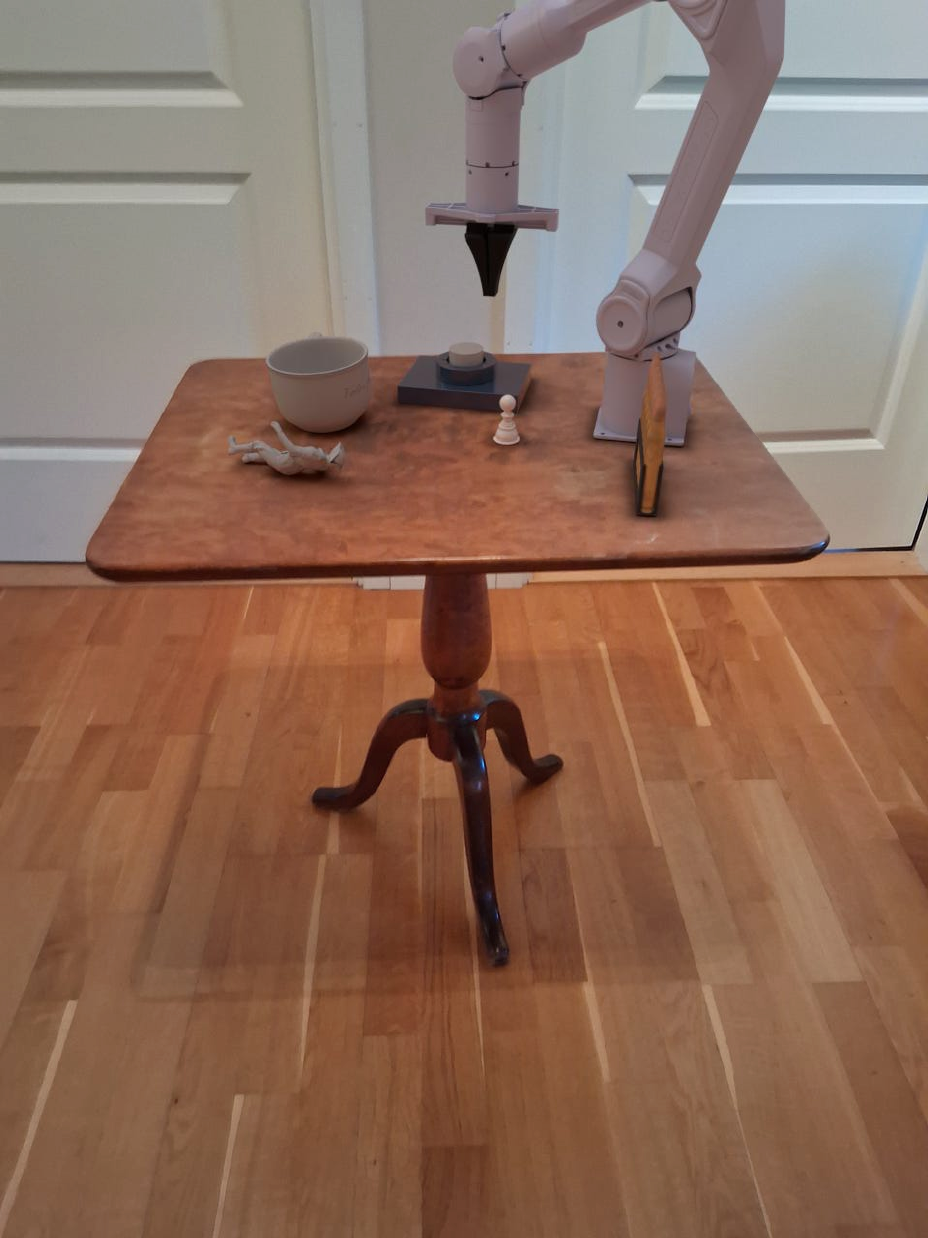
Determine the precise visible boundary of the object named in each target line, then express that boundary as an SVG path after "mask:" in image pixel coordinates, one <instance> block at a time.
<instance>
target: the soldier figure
mask: <svg viewBox="0 0 928 1238" xmlns="http://www.w3.org/2000/svg"><path fill="white" fill-rule="evenodd" d="M269 425H270V426H271V427H272V428H273V429H274V431H275V432H276V433H277V438H278V440H279V442H281V444H282V446H283V447H284V449H285V450H282V451H280V450H278V449H277V448H274V447H272V446H270V445H268V444H267V443H266V442H264V441H262V440H260V439H259V440H258V439H255V440H254V441H252V442H249V443H248V442H247V443H244V444H237V443H236V442H237V441H236V437H235V435H232V434H231V435H229V437H228V440H227V443H228V445H229V448H228V450H227V454H228V456H234V455H236V454H243V456H242V458H241V462H242V463H243V464H248V463H249V462H264V461H265V462H266V463H267V465H269V466H270V467H271V468H274V469H275V470H276V471H277V472H279V473H281V474H283V475H286V476H291V475H296V474H298V473H299V472H302V471H303V470H305V469H306V470H308V471H310V470H316V471H319V472H324V471H326V470H327V469H329V468H331V469H335V468H336V469H337V470H338V471H339V473H342V471H343V469H344V467H345V466H346V453H345V449H344V446H343V443H342V441H339V442H338V444H337V445H336V446H335V447H333V448H332V447H331V448H329V450H331V451H329V450H327V451H325V450H323V448H320V447H318V448H316V447H314V446H312V445H307V446H300V445H294V443H293V442H292V441H291V440H290V439H289V437H287V435H286V434H285V433H284V431H283V429H282V426H281V425H280V424H279V422H278V421H274V420H272V421H271V422H270V424H269ZM328 452H329V453H328Z"/></svg>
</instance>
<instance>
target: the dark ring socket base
mask: <svg viewBox="0 0 928 1238" xmlns="http://www.w3.org/2000/svg"><path fill="white" fill-rule="evenodd" d="M532 368H533V364H532V363H523V362H511V361H509V362H508V361H499V360H498V359H497V358H496V356H494V355H493V354H492V353H491V352H487V351H484V352H483V364H481V365H478V366H472V367H462V366H454V365H451V364H449V350H448V351H445V352H443V353H440V354H439V355H438V356H432V355H419V356H418V357H416V360H415V361H414V362H413V363H412V365H411V366H410V368H409V369H408V371H407V372H406V373H405V375H404V376H403V377H402V379H401V380H400V381H399V383H398V384H397V387H396V389H397V403H398V404H400V405H411V406H422V407H423V406H425V407H436V408H444V409H445V408H446V409H455V410H456V409H457V410H467V411H468V410H470V411H481V412H493V413H502V412H504V410H502V409H501V407H500V404H499V402H500V399H501V398H502V397H503V396H504V395H511V396H513V397H514V398H515V401H516V405H515V408H514V409H513V410H512V411H511V412H512V413H514V415H517V414H518V413H519V411H520V408H521V407H522V404H523V401H524V398H525V397H526V394H527V392H528V389H529V388H530V384H531V382H532V370H533V369H532Z"/></svg>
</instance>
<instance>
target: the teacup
mask: <svg viewBox="0 0 928 1238" xmlns="http://www.w3.org/2000/svg"><path fill="white" fill-rule="evenodd" d="M368 356H369V348H368V346H367V345H366V344H365V343H364V342H362V341H361V340H359V339H356V338H352V337H347V336H340V335H338V336H336V335H326V336H325V335H323V334H322V333H321V332H318V331H316V332H310V333H309V334H308V337H306V338H301V339H296V340H292V341H290V342H289V341H288V342H286V343H284V344H282V345H280V346H278V347H276V348H274V349H273V350H272V351H270V352H269V354H267V356H266V358H265V365H266V367H267V369H268V370H267V371H268V374H269V380H270V384H271V388H272V389H271V390H272V394H273V396H274V401H275V404H276V407H277V409H278V411H279V413H280V414H281V416H282V417H283V418H284V419H285V420H286V421H287V422H289V423H290V424H292V425H294V426H295V427H297V428H299V429H300V430H303V431H305V432H309V433H317V434H321V433H323V434H326V433H333V432H338V431H342V430H344V429H346V428H349V427H350V426H352V425H353V424H354V423H356V421H357V420H358V419H359V418H360V417H361V416H362V415H363V414H364V413H365V412H366V410H367V409H368V407H369V405H370V402H371V394H372V391H371V390H372V388H371V376H370V374H371V373H370V365H369V357H368Z"/></svg>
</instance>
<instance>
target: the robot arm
mask: <svg viewBox="0 0 928 1238" xmlns="http://www.w3.org/2000/svg"><path fill="white" fill-rule="evenodd" d="M652 2H655V3H664V2H667V3H668V5H669V6H670V8H671V9H672V11H673V12H674V13H675V15H676V16H677V17H678V18H679V19H680V20H681V22H682V23H683V24H684V26H685V27H686V28H687V30H688V31H689V32H690V33H691V35H692V36H693V37H694V38H695V40H696V41H697V42H698V44H699V45H700V48H701V51H702V53H703V55H704V58H705V61H706V64H707V66H708V69H709V70H708V71H709V72H708V76H707V79H706V81H705V84H704V86H703V89H702V91H701V94H700V97H699V100H698V102H697V105H696V107H695V109H694V112H693V115H692V118H691V121H690V123H689V125H688V128H687V130H686V133H685V136H684V138H683V141H682V143H681V146H680V149H679V150H678V154H677V156H676V159H675V161H674V164H673V167H672V169H671V172H670V174H669V177H668V179H667V182H666V185H665V187H664V189H663V192H662V195H661V197H660V200H659V203H658V206H657V207H656V211H655V213H654V216H653V218H652V221H651V223H650V226H649V229H648V231H647V234H646V236H645V239H644V242H643V244H642V247H641V249H640V250H639V251H638V253H637V254H636V255H635V256H634V257H633V258H632V259H631V260H630V262H629V263H627V265H626V266H625V268H623V270H622V271H621V272H620V274H619V276H618V279H617V281H616V284H615V286H614V287H613V288H612V290H611V291H610V292H609V293H608V294H606V295H605V296H604V297H603V298H602V300H601V301H600V303H599V305H598V307H597V309H596V313H595V325H596V331H597V334H598V336H599V339H600V340H601V342H602V343H603V345H604V347H605V348H604V351H605V353H606V354H605V355H606V356H605V367H604V369H605V370H604V376H603V377H604V378H603V379H604V380H603V389H602V399H601V400H602V401H601V406H600V407H599V408H598V412H597V418H596V422H595V426H594V430H593V438H594V439H598V440H607V441H608V440H610V441H619V442H633V443H636V437H637V429H638V422H639V418H641V411H642V403H643V396H644V393H645V390H646V385H647V381H648V374H649V369H650V365H651V362H652V360H653V357H654V355H655V354H656V352H659V354H660V358H661V365H662V372H663V379H664V386H665V393H666V401H667V410H666V423H665V445H664V446H677V447H682V446H683V445H684V444H685V436H686V430H687V424H688V422H690V420H691V414H692V407H693V406H692V405H693V404H692V403H691V399H692V398H691V397H692V392H693V384H694V377H695V370H696V361H697V351H695V350H689V349H684V348H681V347H679V343H680V340H681V332H682V331H684V330H685V329H686V328H687V327H688V326H689V325H690V323H691V321H692V320H693V319H694V317H695V312H696V307H697V303H696V302H697V301H696V300H697V299H696V297H697V290H698V286H699V284H700V282H701V280H702V272H701V271H700V269H699V267H698V265H697V261H698V258H699V256H700V254H701V252H702V249H703V247H704V245H705V243H706V241H707V238H708V236H709V233H710V231H711V229H712V227H713V224H714V222H715V220H716V218H717V215H718V213H719V211H720V208H721V206H722V204H723V201H724V199H725V197H726V194H727V192H728V190H729V188H730V187H731V183H732V181H733V180H734V176H735V174H736V173H737V170H738V167H739V165H740V163H741V161H742V159H743V156H744V154H745V151H746V149H747V147H748V144H749V142H750V141H751V138H752V136H753V133H754V131H755V128H756V127H757V124H758V122H759V119H760V117H761V115H762V113H763V111H764V108H765V106H766V104H767V101H768V100H769V97H770V94H771V92H772V90H773V88H774V86H775V84H776V81H777V78H778V76H779V75H780V72H781V69H782V65H783V62H784V56H785V35H786V34H785V32H786V31H785V30H786V0H531V1H529V2H528V3H526V4H525V5H523V6H521V7H519V8H518V9H516V10H515V11H513V12H511V11H504V12H502V13H500V14H498V15H497V16H496V22H495V23H494V25H493V26H492V27H489V28H485V27H482V26H472V27H469V28H468V29H467V31H466V32H465V33H464V34H462V35H461V36H460V38H459V39H458V41H457V43H456V44H455V48H454V50H453V57H452V65H453V66H452V69H453V74H454V78H455V81H456V83H457V85H458V87H459V88H460V90H461V91H462V92H463V93H464V94H465V95H464V97H465V98H464V99H465V101H464V102H465V103H464V104H465V106H464V107H465V108H464V109H465V110H464V111H465V114H464V115H465V118H464V119H465V121H464V122H465V123H464V125H465V129H464V130H465V202H447V203H446V202H445V203H441V202H439V203H437V202H436V203H435V202H429V203H428V204H427V205H426V206H425V208H424V212H425V213H424V214H425V226H430V227H431V226H433V227H435V226H436V225H442V226H443V225H444V226H461V227H463V226H464V227H465V232H464V235H463V237H464V240H465V243H466V245H467V247H468V249H469V251H470V253H471V255H472V258H473V261H474V263H475V266H476V269H477V273H478V275H479V280H480V284H481V290H482V296H483V297H489V298H495V297H496V296H497V294H498V293H499V286H500V281H501V275H502V272H503V269H504V266H505V261H506V260H507V256H508V253H509V251H510V249H511V246H512V244H513V241H514V239H515V237H516V235H517V233H518V230H519V229H520V230H521V229H523V230H542V231H546V232H549V233H550V232H552V233H555V232H557V231H558V228H559V220H560V219H559V216H560V209H559V208H549V207H542V206H541V207H540V206H533V205H527V204H526V205H525V204H519V187H520V185H519V184H520V155H521V153H520V152H521V151H520V148H521V121H522V120H521V117H522V116H521V115H522V110H523V106H525V95H526V90H527V88H528V86H529V85H530V83H531V81H532V79H534V78H536V77H537V76H539V75H542V74H544V73H545V72H547V71H549V70H551V69H552V68H555V67H557V66H558V65H560V64H562V63H565V62H566V61H568V60H570V59H572V58H574V57H576V56H577V55H578V54H580V52H581V51H582V49H583V48H584V45H585V42H586V38H587V35H588V33H589V32H591V31H594V30H595V29H598V28H599V27H602V26H604V25H606V24H608V23H610V22H612V21H614V20H616V19H618V18H621V17H623V16H625V15H627V14H629V13H631V12H633V11H635V10H637V9H639V8H642V7H644V6H646V5H647V4H650V3H652Z"/></svg>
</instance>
